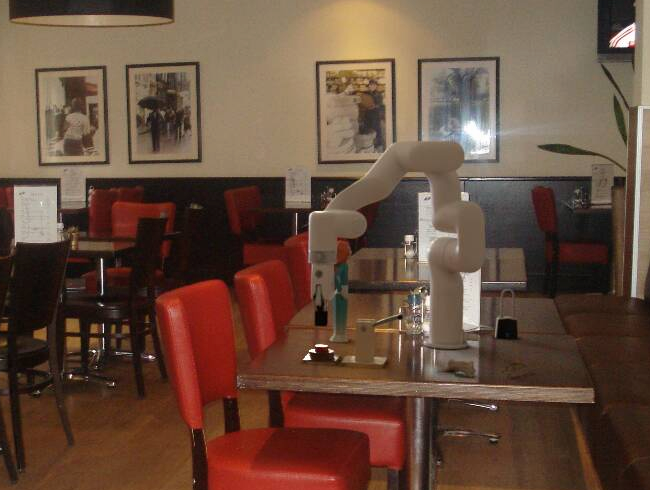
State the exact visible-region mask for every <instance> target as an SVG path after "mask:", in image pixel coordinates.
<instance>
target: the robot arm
mask: <svg viewBox="0 0 650 490" xmlns="http://www.w3.org/2000/svg"><path fill="white" fill-rule="evenodd" d="M465 157H466V156H465V150H464V148H463V146H462V145H461V144H459V142H457V141H454V140H424V141H423V140H421V141H420V140H416V141H415V140H413V141H412V140H411V141H410V140H409V141H407V140H405V141H403V140H401V141H396V142H393V143H391V144H390V145H389V146H388V147H387V148H386V149H385V150H384V151H383V153H382V154H381V155H380V157H378V158H377V160H376V161H375V163H373V165H372V166H371V167H370V169H369V170H368V171H367V172H366V173H365V175H364V176H363V177H362V178H360V179H359V180H356V181H355V182H353V183H352V184H351V185H349V186H347V187H346V188H344V189H343V190H341V191H340V192H339V193H338V194H337V195H335V197H333V199H332V200H331V201H330V202H329V204H328V205H327V206H326V207H325V209H324V210H318V211H317V210H315V211H312V212H311V213H310V214H309V216H308V252H307V253H308V255H307V257H308V258H307V259H308V260H307V263H308V264H311V274H310V275H311V279H310V299H311V300H312V301H314V307H315V308H314V326H315V327H325V328H326V327H327V326H329V325H328V324H329V323H328V322H329V321H328V320H329V310H328V308H329V302H331V300H333V298H334V295H335V283H334V275H335V267H334V264H336V263H337V241H338V238H342V239H357V238H359V237H361V236H363V235H364V234H365V232H366V231H367V227H368V222H367V218H366V217H365V216H364V215H363V214H362V213H361V212H359V211H358V210H359V209H361V208H363V207H365V206H368V205H371V204H373V203H378V202H380V201H382V200H384V199H386V198H387V197H389V196H390V195H391V193H392V192H393V191H394V190H395V188H397V186H398V184H399V183H400V182H401V181H402V180H403V178H405V176H406V174H408V173H423V175H424V176H425V177H426V179H427V180H428V183H429V189H430V190H429V191H430V214H431V215H430V216H431V224H432V227H433V229H435V230H436V231H437V232H439V233H440V232H441V233H445V234H455V235H456V237H451V236H441V237H437V238H435V239H433V240H432V241H431V242H430V243H429V245H428V246H427V251H426V259H427V260H426V261H427V265H428V270H429V314H428V315H429V317H428V318H429V320H428V321H429V323H428V338H426V339H423V345H424V346H425V347H428V348H433V349H441V350H457V349H458V350H460V349H464V348H467V347H468V346H469V342H468V341H470V342H479V334H475V333H467V332H465V329H464V325H463V324H464V293H465V292H464V291H465V290H464V288H465V287H464V286H465V285H464V281H463V277H462V274H461V273H463V274H464V273H466V274H475V273H476V272H478V271H480V269H481V268H482V267H483V265H484V263H485V259H486V223H485V222H486V221H485V214H484V212H483V209H482V208H481V206H480V205H479V204H478V203H476V202H475V201H471V200H463V199H462V187H461V181H460V177H459V174H458V172H457V170H459V169H461V167H462V165H463V164H464V162H465Z"/></svg>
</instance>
